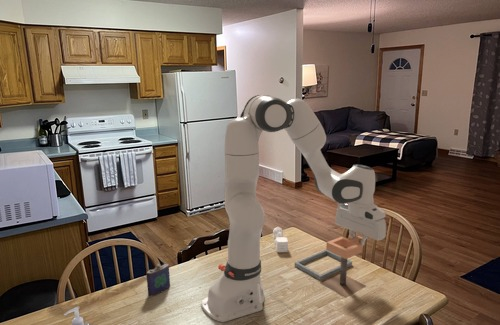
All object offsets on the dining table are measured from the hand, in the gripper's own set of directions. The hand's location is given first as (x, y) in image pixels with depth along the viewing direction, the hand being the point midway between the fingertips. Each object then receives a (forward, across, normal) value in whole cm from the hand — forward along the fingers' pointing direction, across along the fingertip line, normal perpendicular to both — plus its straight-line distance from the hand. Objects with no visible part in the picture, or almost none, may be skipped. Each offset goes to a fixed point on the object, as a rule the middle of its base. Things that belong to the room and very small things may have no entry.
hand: (357, 243), depth 137 cm
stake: (+16, 0, -8) cm, 17 cm away
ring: (+1, 0, -5) cm, 6 cm away
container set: (+16, -43, -1) cm, 46 cm away
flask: (+17, -40, -63) cm, 76 cm away
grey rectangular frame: (+16, -14, -3) cm, 21 cm away
